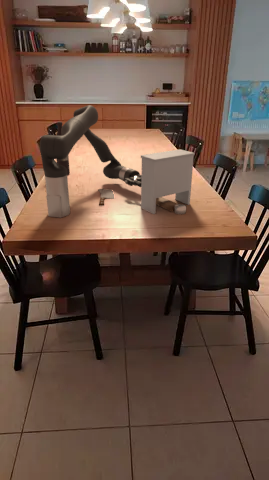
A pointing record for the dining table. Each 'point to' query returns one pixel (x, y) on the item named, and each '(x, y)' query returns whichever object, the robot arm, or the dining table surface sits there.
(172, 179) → the cabinet
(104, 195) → the kitchen cleaver
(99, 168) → the dining table surface
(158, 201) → the upright wooden plank
